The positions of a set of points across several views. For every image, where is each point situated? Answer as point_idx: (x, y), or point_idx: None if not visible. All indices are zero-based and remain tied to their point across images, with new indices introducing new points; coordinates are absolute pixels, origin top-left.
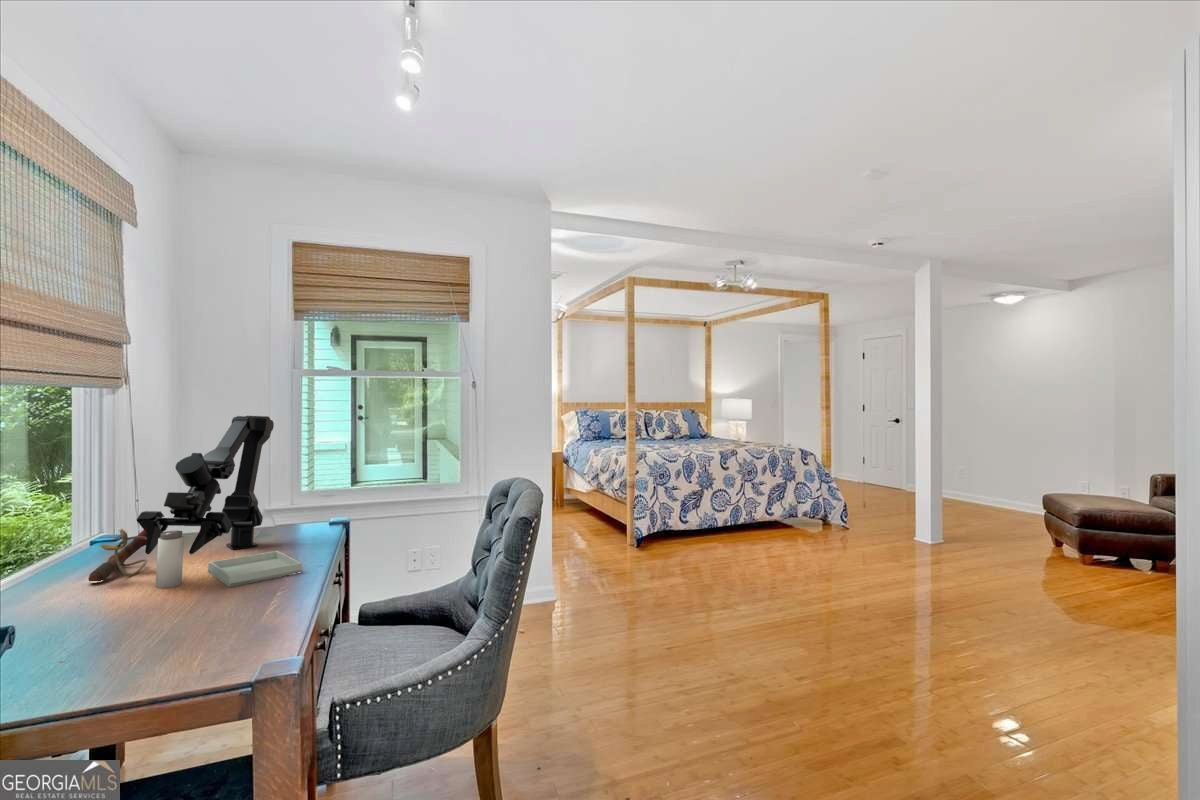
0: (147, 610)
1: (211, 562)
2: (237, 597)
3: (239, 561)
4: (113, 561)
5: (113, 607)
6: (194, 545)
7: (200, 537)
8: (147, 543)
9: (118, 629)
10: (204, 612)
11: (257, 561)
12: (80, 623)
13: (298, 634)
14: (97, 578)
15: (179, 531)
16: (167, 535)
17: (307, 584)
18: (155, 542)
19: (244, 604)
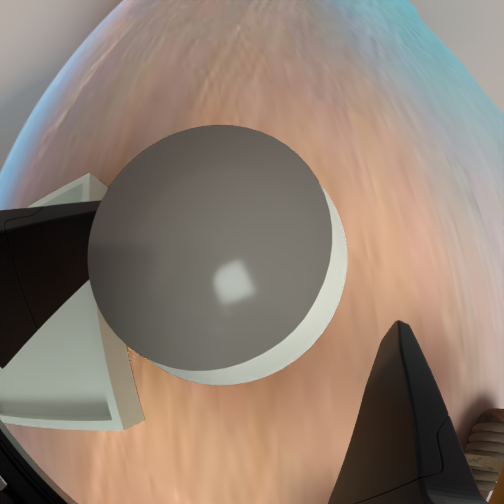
0: (298, 78)
1: (113, 412)
2: (118, 108)
3: (54, 417)
4: None
5: (386, 128)
6: (98, 203)
7: (38, 207)
8: (423, 369)
9: (325, 24)
10: (190, 48)
11: (27, 407)
12: (407, 67)
13: (122, 3)
14: (493, 409)
15: (110, 272)
16: (241, 135)
17: (15, 161)
18: (362, 443)
19: (123, 72)
